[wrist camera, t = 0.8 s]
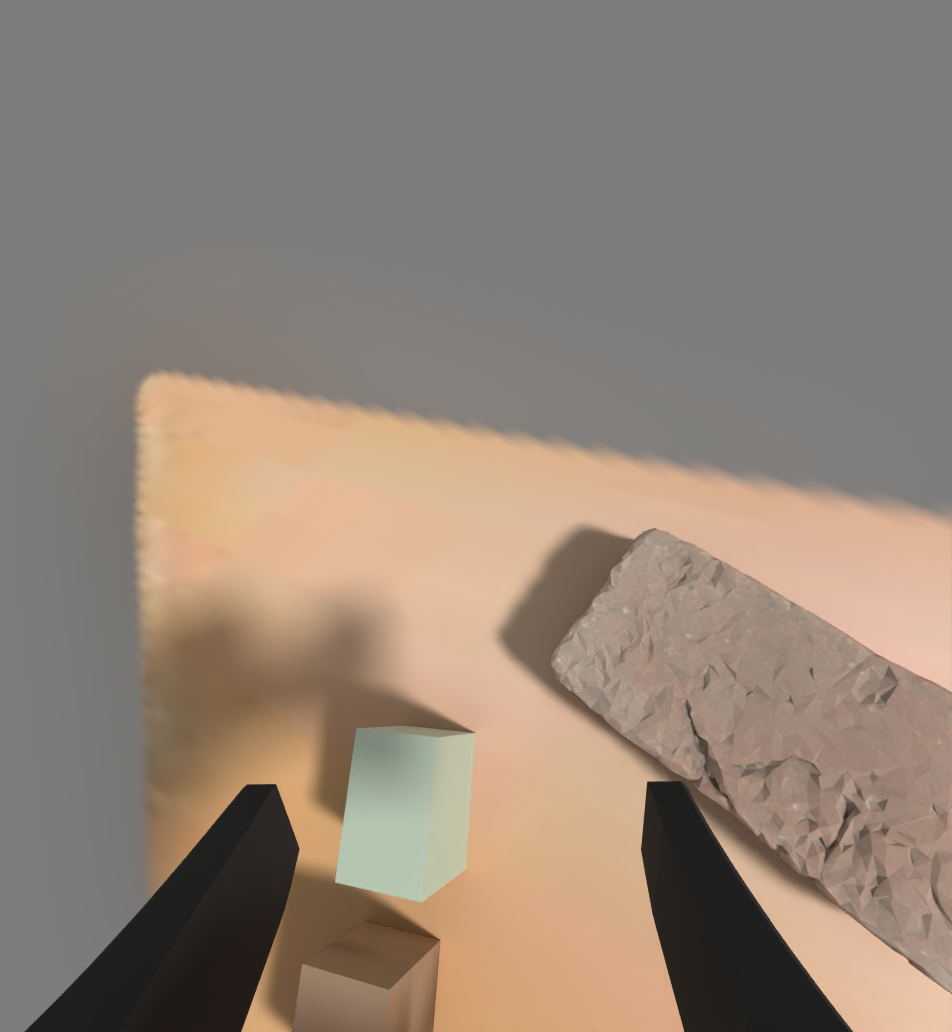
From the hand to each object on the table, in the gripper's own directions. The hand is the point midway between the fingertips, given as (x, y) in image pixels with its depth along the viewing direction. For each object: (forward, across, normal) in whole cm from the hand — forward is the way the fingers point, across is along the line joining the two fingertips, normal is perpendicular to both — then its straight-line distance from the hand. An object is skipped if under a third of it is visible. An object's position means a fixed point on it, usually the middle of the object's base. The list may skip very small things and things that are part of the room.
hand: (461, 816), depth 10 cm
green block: (+11, +4, +14) cm, 18 cm away
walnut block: (+5, +5, +21) cm, 22 cm away
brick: (+11, -12, +9) cm, 19 cm away
